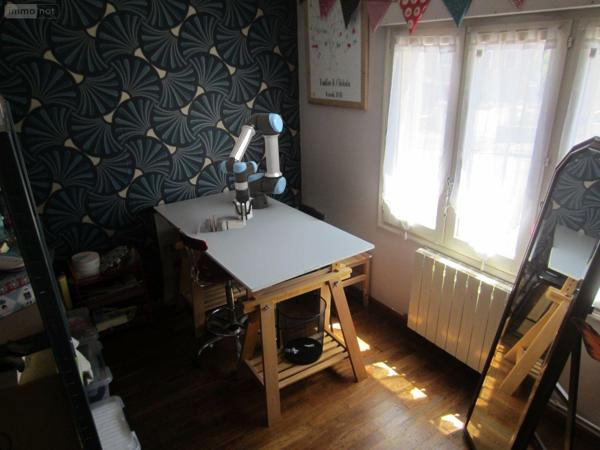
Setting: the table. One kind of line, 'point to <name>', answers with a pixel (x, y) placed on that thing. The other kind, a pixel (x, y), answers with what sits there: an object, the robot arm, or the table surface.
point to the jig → (208, 224)
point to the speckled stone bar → (232, 224)
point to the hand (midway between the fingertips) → (244, 224)
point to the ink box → (243, 210)
